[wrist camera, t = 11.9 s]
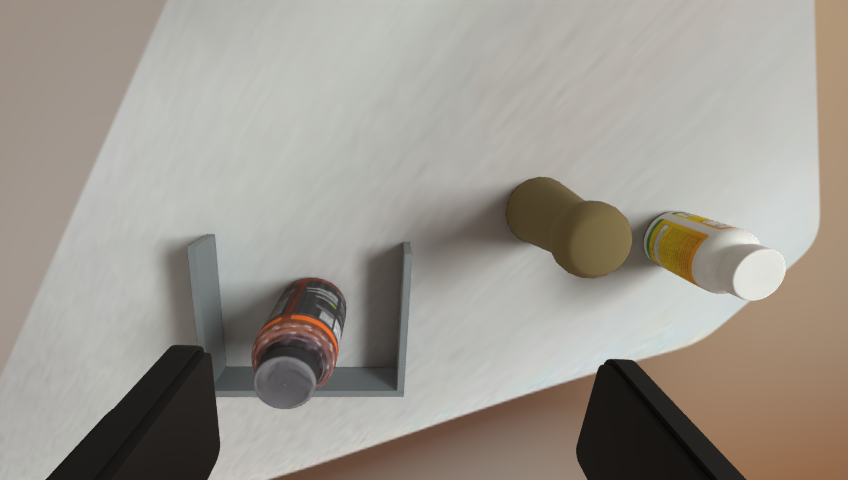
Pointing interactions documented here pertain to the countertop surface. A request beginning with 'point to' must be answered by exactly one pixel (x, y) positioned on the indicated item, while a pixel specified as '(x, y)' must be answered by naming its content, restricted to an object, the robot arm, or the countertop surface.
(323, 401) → the countertop surface
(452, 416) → the countertop surface
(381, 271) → the countertop surface
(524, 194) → the cork
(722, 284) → the supplement bottle
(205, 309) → the fence
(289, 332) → the supplement bottle
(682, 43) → the countertop surface
